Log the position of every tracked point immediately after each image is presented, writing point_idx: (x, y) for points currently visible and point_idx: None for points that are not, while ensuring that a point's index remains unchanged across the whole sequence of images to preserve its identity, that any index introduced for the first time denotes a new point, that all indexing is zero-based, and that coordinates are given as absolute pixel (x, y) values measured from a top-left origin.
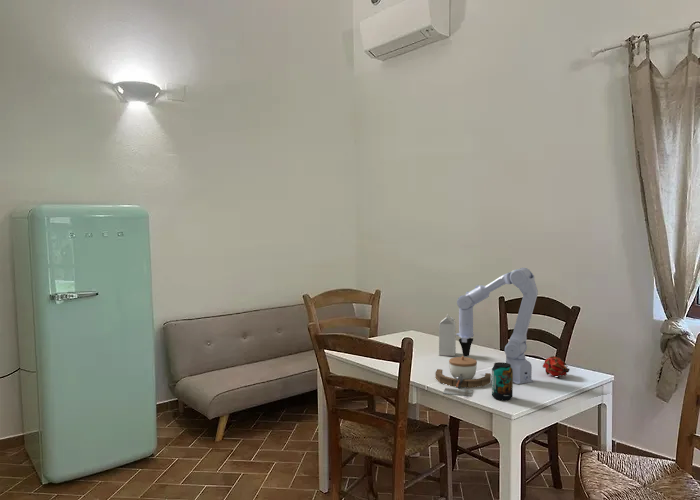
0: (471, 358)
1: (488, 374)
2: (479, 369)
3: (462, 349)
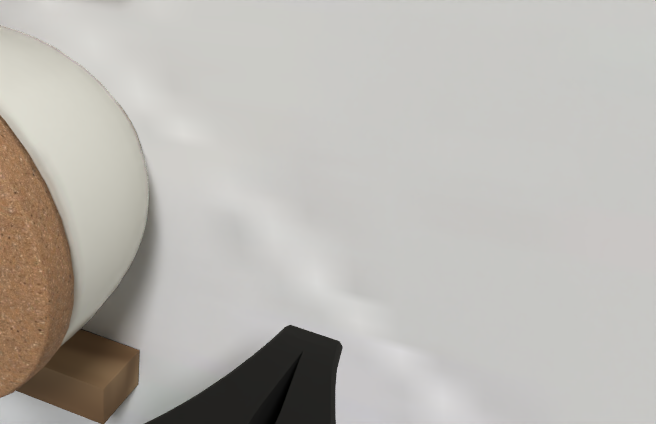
0: (4, 379)
1: (67, 397)
2: (474, 399)
3: (211, 391)
